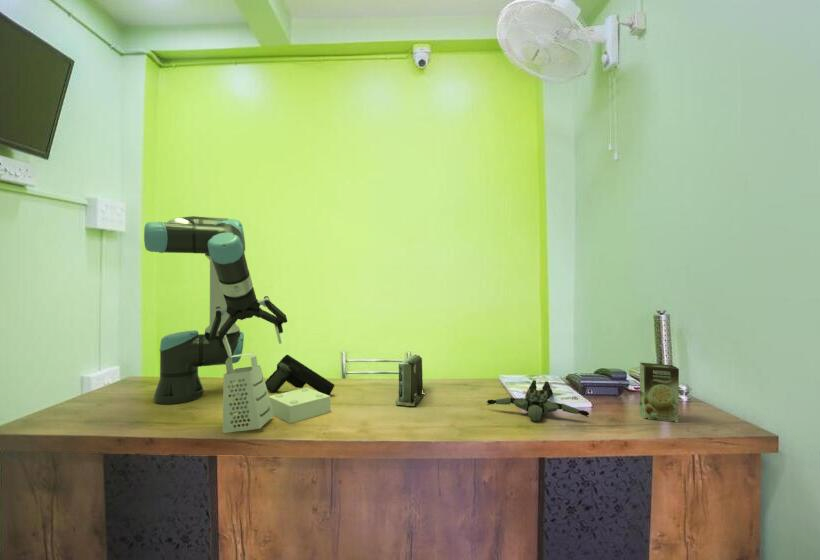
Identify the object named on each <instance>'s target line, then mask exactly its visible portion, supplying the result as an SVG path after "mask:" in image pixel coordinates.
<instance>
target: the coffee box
mask: <svg viewBox="0 0 820 560" xmlns="http://www.w3.org/2000/svg"><path fill="white" fill-rule="evenodd" d="M639 363H640V365H639V399H638V400H639V401H638V402H639V403H638V404H639V406H638V408H639V409H638V410H639V411H638V412H640V413H639V414H640V415H641V416H642V418H643V419H645V418H648V419H647V420H652V419H657V420H656V421H661V420H665V421H664V422H670V421H678V422H679V389H680V388H679V386H680V384H679V383H680V381H679V379H680V376H679V375H680V369H679V368H678V367H676V366H675V365H673V364H664V363H663V364H662V363H652V362H651V363H650V362H639Z"/></svg>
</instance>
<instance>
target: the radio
mask: <svg viewBox="0 0 820 560" xmlns="http://www.w3.org/2000/svg"><path fill="white" fill-rule="evenodd" d="M423 381H424V380H423V358H422V357H421V356H420V355H419V354H413V355H411V356H409V357H407V358H405V359H404V360H402V361H400V362H399V363H398V398H396V400H395V405H396V406H407V407H409V406H410V407H415V406H417V404H418V403H419V402H420V401H421V400H422V399H423V397H424V396H425V395H424V394H422V390H424V389H423V387H424V383H423Z"/></svg>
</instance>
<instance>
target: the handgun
mask: <svg viewBox="0 0 820 560" xmlns="http://www.w3.org/2000/svg"><path fill="white" fill-rule="evenodd" d="M286 382H287V383H288V384H290V385H291V386H293V387H294V388H297V389H303V388H304V386H305V385H308V386H309V387H311V389H313V390H315V391H318V392H321V393H323V394H326V395H329V396H331V394H332V392H333V389H334V388H335V386H336V385H335V384H334V383H332V382H331V381H330V380H328V379H326V378H325V377H324V376H322V375H320V374H319V373H317V372H315V371H314V370H313V369H311V368H309V367H308V366H306V365H305V364H303V363H302V362H300V361H298V360H297V359H296V358H294V357H293V356H291V355H289V354H285V356H283V357H282V358H281V359H280V360H279V362H277V364H276V370H274V371H273V373H272V374H271V375H270V376H269V377H268V378H267V379H266V381H265V384H266V387H267V391H269V392H270V393H272V394H276V393H277V392H278V391H279V390H280V389H281V388H282V387H283V385H284V384H285V383H286Z"/></svg>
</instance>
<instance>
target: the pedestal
mask: <svg viewBox="0 0 820 560" xmlns="http://www.w3.org/2000/svg"><path fill="white" fill-rule="evenodd" d="M269 398H270V401H271V405H272V408H273V412H274V417H276V418H279V419H281V420H283V421H285V422H287V423H289V424H293V423H296V422H300V421H303V420H307V419H311V418H314V417H317V416H320V415H323V414H326V413H331V398H332V397H331V395H326V394H323V393H321V392H318V391H317V390H315V389H313V388H309V387H302V388H298V389H295V390H289V391H286V392H282V393H277V394H273V395H269Z"/></svg>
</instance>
